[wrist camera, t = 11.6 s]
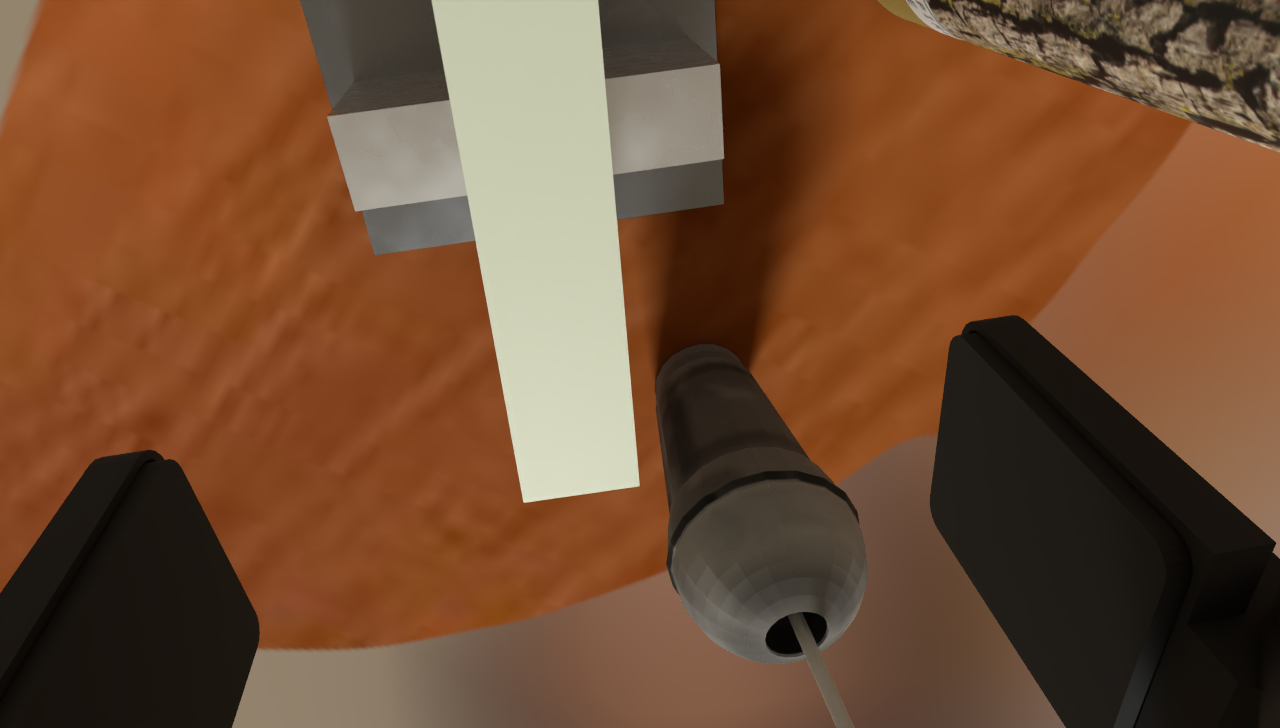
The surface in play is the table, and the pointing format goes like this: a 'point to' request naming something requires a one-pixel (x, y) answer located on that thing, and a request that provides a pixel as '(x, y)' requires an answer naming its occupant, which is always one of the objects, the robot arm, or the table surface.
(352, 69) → the ridge stand
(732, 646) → the beverage cup
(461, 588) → the table surface
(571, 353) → the batten
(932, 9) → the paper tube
